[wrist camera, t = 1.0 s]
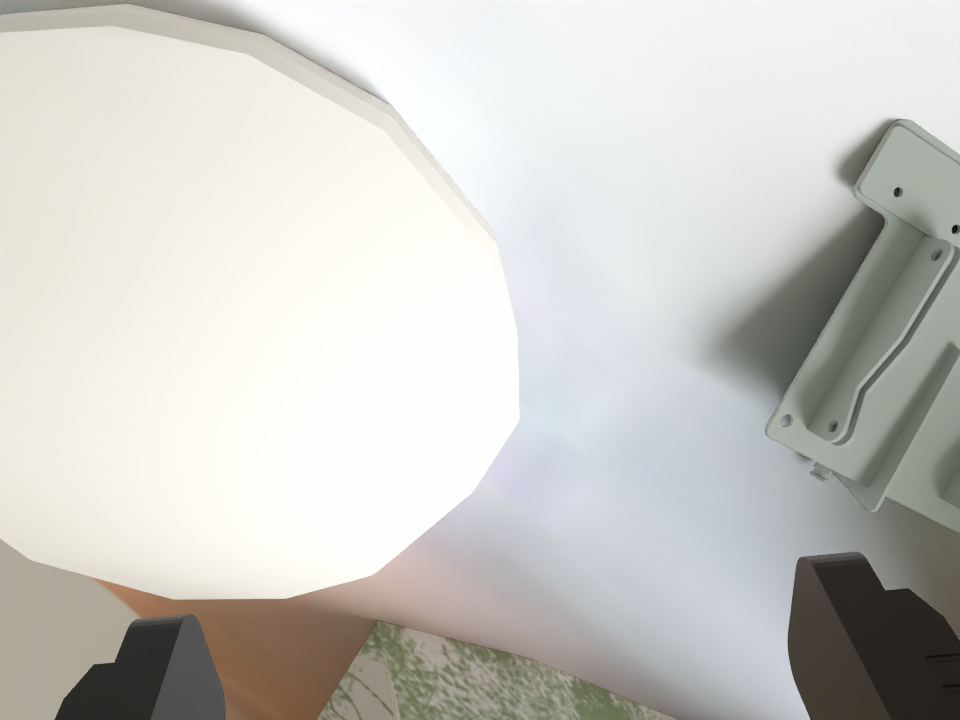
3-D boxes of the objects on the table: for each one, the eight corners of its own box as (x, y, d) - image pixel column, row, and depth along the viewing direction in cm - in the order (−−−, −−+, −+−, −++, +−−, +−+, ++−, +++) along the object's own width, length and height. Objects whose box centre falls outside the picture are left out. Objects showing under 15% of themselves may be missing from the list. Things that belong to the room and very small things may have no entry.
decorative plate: (-326, 434, 32) (16, -174, 23) (-250, 374, 35) (70, -171, 27) (262, 721, 41) (660, 360, 32) (275, 650, 44) (636, 309, 36)
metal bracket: (1018, 590, 37) (734, 450, 32) (923, 528, 42) (670, 401, 38) (1221, 281, 35) (948, 87, 30) (1095, 258, 40) (847, 91, 36)
